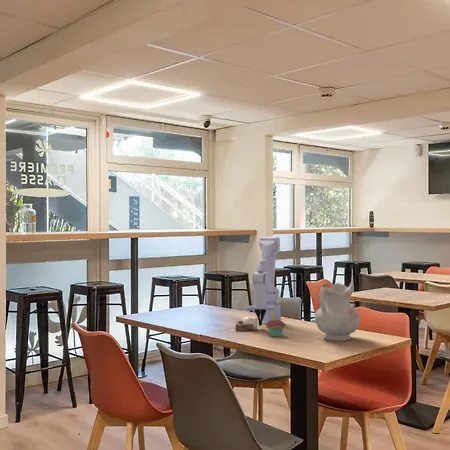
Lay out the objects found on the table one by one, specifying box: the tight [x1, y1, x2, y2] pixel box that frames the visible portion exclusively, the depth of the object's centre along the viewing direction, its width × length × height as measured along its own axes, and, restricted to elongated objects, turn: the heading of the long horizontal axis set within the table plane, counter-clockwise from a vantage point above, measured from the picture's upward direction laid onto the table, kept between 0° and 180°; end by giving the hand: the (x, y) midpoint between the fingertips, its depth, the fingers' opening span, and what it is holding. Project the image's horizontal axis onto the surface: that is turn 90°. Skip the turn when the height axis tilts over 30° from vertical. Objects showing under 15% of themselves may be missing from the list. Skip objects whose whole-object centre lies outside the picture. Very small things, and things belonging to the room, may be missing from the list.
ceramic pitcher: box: [314, 282, 361, 342], centre depth 247 cm, size 22×20×25 cm
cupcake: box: [265, 309, 286, 337], centre depth 256 cm, size 9×8×12 cm
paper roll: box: [242, 316, 258, 331], centre depth 272 cm, size 7×7×5 cm
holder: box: [235, 320, 254, 332], centre depth 272 cm, size 8×11×3 cm
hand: (260, 325), depth 272 cm, fingers closed
